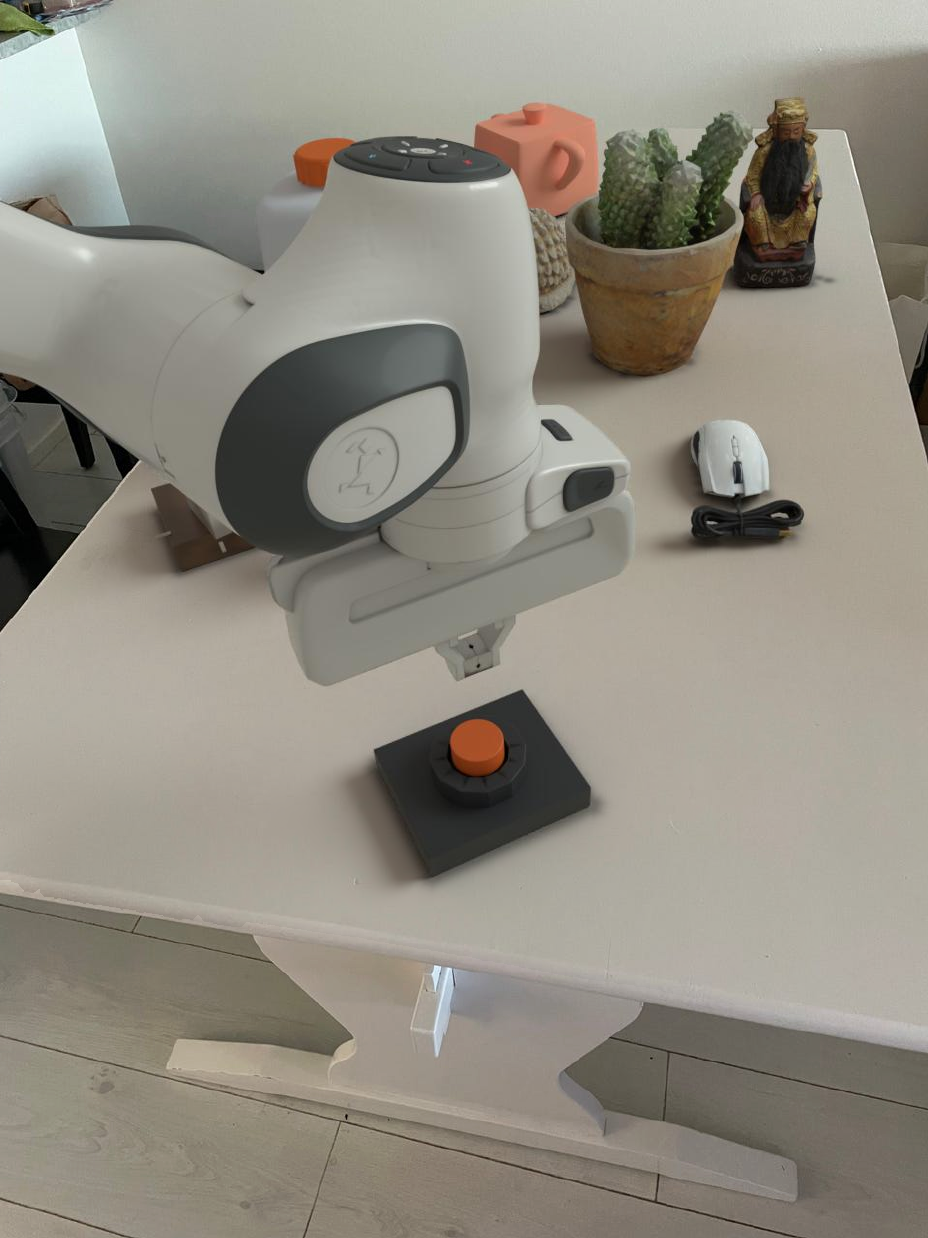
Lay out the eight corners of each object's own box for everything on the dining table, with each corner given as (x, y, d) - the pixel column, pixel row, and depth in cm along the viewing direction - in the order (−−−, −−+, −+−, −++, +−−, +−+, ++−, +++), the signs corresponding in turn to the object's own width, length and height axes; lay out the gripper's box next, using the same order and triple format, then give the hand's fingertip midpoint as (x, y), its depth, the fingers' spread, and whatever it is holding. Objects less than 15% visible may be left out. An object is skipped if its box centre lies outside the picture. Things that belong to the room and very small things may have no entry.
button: (465, 785, 61) (463, 769, 60) (443, 746, 64) (441, 730, 63) (513, 764, 62) (512, 748, 61) (490, 727, 65) (488, 711, 64)
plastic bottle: (456, 392, 103) (434, 120, 84) (417, 471, 93) (380, 182, 74) (331, 382, 107) (281, 118, 87) (279, 457, 97) (209, 177, 77)
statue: (730, 289, 117) (754, 116, 103) (728, 262, 122) (750, 94, 108) (831, 290, 115) (869, 114, 101) (824, 262, 120) (859, 91, 106)
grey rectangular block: (232, 532, 83) (220, 494, 80) (216, 539, 83) (203, 502, 80) (205, 501, 87) (193, 463, 84) (189, 507, 86) (176, 470, 83)
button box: (432, 877, 61) (426, 845, 58) (377, 767, 67) (369, 733, 65) (590, 805, 64) (592, 771, 61) (523, 707, 71) (521, 672, 68)
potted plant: (614, 410, 99) (627, 164, 81) (534, 337, 111) (531, 110, 94) (756, 365, 103) (798, 122, 86) (664, 299, 116) (685, 76, 98)
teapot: (533, 173, 150) (532, 77, 140) (621, 213, 136) (626, 110, 126) (428, 206, 143) (419, 107, 133) (509, 251, 129) (506, 145, 119)
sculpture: (581, 258, 126) (583, 182, 119) (567, 317, 114) (569, 236, 107) (495, 257, 128) (492, 181, 121) (473, 314, 116) (468, 235, 109)
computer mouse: (762, 430, 94) (768, 395, 92) (805, 545, 82) (814, 509, 79) (663, 434, 95) (666, 400, 92) (691, 549, 82) (696, 514, 79)
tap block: (177, 596, 82) (167, 569, 80) (148, 516, 91) (138, 490, 89) (316, 548, 86) (310, 522, 83) (275, 476, 94) (269, 450, 92)
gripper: (276, 588, 42) (329, 769, 52) (659, 454, 47) (642, 641, 57) (241, 513, 46) (296, 693, 56) (595, 398, 52) (590, 581, 61)
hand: (473, 666), depth 57 cm, fingers closed
